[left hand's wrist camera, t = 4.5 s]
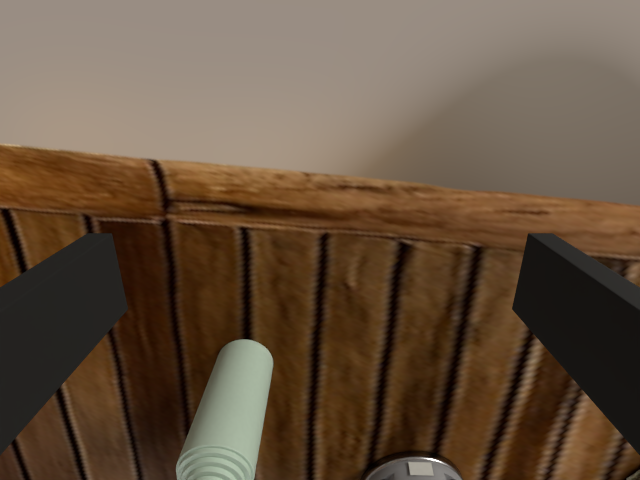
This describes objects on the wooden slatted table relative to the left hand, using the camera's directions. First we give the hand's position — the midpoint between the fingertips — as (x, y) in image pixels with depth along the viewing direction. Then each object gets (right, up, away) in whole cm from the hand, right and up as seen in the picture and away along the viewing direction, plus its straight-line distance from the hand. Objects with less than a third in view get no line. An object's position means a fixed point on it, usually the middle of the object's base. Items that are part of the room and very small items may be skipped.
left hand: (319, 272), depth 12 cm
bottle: (-9, -14, +36) cm, 40 cm away
